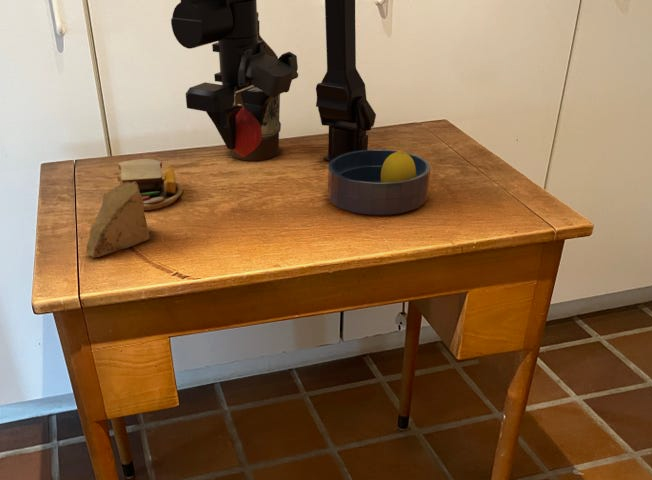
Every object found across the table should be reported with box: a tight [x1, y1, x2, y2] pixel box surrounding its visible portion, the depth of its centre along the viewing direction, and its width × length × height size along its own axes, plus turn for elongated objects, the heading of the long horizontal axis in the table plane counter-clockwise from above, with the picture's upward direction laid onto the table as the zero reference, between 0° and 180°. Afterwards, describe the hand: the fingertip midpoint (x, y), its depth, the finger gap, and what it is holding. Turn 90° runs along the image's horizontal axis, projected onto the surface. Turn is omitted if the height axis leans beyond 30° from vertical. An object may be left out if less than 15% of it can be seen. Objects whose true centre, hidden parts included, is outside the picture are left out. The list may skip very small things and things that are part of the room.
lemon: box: [381, 149, 416, 183], centre depth 117 cm, size 6×6×8 cm
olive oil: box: [229, 11, 282, 162], centre depth 136 cm, size 11×11×25 cm
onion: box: [234, 104, 262, 157], centre depth 112 cm, size 6×6×8 cm
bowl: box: [327, 148, 431, 216], centre depth 120 cm, size 16×16×6 cm
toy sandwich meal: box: [112, 158, 183, 211], centre depth 124 cm, size 12×14×5 cm
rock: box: [86, 181, 150, 259], centre depth 108 cm, size 11×9×10 cm
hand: (243, 143), depth 113 cm, fingers closed on onion, 6 cm apart
